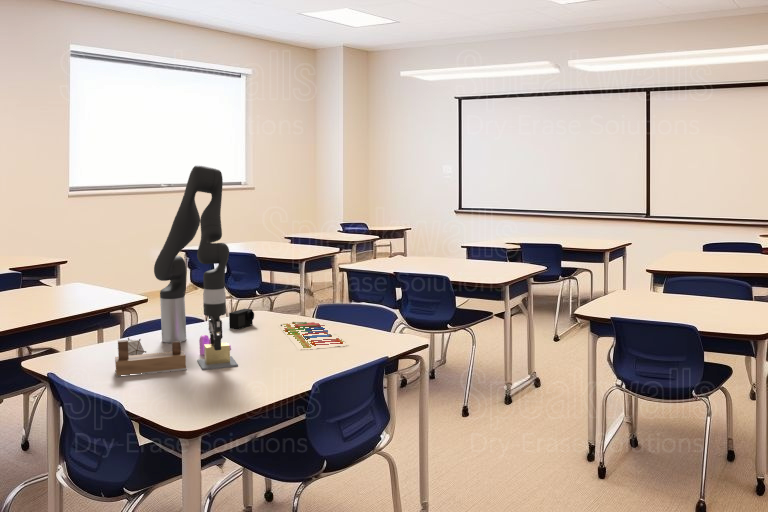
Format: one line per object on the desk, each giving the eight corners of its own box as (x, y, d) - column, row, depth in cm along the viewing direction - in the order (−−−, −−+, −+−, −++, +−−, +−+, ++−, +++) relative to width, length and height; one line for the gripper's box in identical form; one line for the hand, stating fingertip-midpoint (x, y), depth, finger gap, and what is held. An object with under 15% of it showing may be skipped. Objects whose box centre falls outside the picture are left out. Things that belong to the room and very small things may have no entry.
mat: (197, 361, 259) (197, 359, 259) (231, 357, 264) (231, 356, 264) (202, 370, 248) (202, 368, 248) (238, 366, 253) (237, 364, 252)
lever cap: (204, 361, 257) (204, 342, 256) (227, 359, 260) (227, 340, 259) (206, 364, 252) (206, 345, 252) (230, 362, 255) (229, 343, 255)
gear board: (277, 320, 316) (321, 318, 322) (277, 326, 316) (321, 323, 322) (298, 345, 274) (349, 341, 279) (299, 351, 274) (349, 347, 280)
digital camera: (239, 330, 307) (239, 313, 306) (229, 329, 310) (228, 312, 309) (255, 325, 316) (254, 309, 315) (244, 324, 319) (244, 308, 318)
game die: (138, 370, 261) (155, 347, 261) (123, 368, 253) (141, 344, 254) (123, 355, 265) (140, 333, 265) (108, 352, 257) (125, 329, 257)
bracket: (212, 356, 266) (211, 337, 265) (199, 354, 269) (199, 336, 268) (233, 348, 278) (233, 330, 277) (221, 346, 280) (220, 328, 279)
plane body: (115, 371, 247) (113, 339, 246) (184, 364, 255) (182, 333, 254) (116, 377, 240) (114, 344, 239) (186, 369, 248) (185, 337, 247)
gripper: (229, 304, 248) (230, 351, 250) (222, 296, 261) (223, 341, 263) (206, 305, 245) (207, 353, 247) (200, 298, 258) (201, 343, 260)
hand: (215, 347), depth 255 cm, fingers open, 8 cm apart
